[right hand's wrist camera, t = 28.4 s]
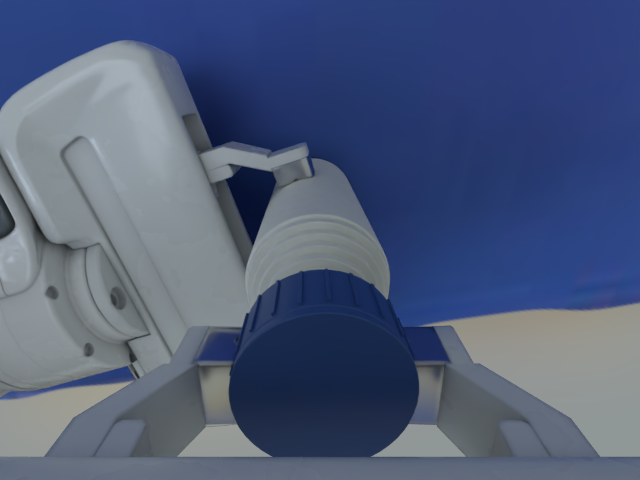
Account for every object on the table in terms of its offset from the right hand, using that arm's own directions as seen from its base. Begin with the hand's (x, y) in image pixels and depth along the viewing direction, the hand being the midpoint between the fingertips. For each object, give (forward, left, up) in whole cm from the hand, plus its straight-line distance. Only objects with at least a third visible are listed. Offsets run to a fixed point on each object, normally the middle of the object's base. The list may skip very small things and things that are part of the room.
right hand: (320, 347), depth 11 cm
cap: (0, 0, +2) cm, 2 cm away
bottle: (0, 0, -15) cm, 15 cm away
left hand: (-1, 0, -10) cm, 10 cm away
